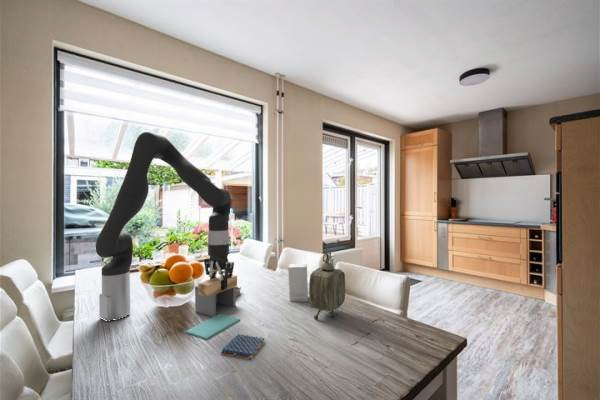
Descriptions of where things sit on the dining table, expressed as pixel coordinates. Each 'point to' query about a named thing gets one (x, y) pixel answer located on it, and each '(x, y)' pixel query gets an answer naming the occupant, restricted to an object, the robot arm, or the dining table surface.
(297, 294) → the skincare box
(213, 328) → the teal mat
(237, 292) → the egg carton
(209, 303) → the cubby shelf
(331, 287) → the tabletop clock
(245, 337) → the woven mat
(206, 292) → the oak plank
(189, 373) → the dining table surface
